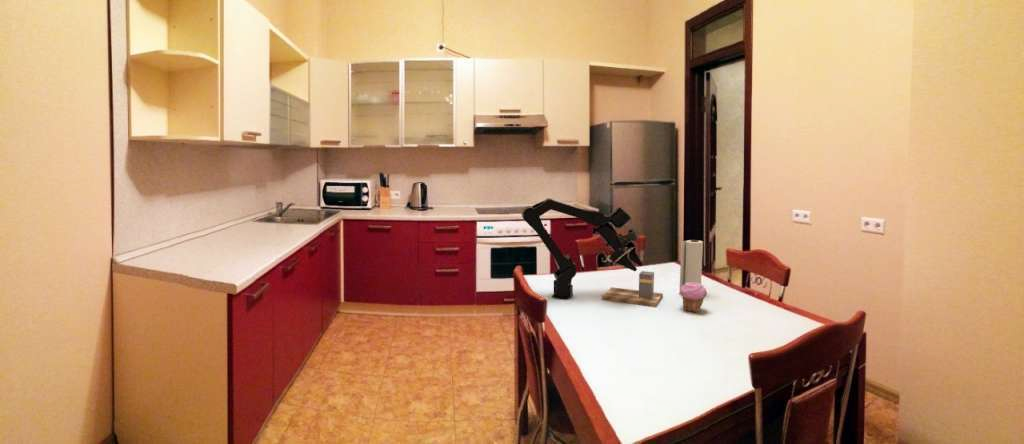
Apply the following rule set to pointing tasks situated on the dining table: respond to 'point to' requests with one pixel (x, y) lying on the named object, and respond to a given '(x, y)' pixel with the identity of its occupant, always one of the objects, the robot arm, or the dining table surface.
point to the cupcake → (693, 295)
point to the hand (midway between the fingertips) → (639, 267)
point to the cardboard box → (631, 297)
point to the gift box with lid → (646, 284)
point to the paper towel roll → (691, 262)
